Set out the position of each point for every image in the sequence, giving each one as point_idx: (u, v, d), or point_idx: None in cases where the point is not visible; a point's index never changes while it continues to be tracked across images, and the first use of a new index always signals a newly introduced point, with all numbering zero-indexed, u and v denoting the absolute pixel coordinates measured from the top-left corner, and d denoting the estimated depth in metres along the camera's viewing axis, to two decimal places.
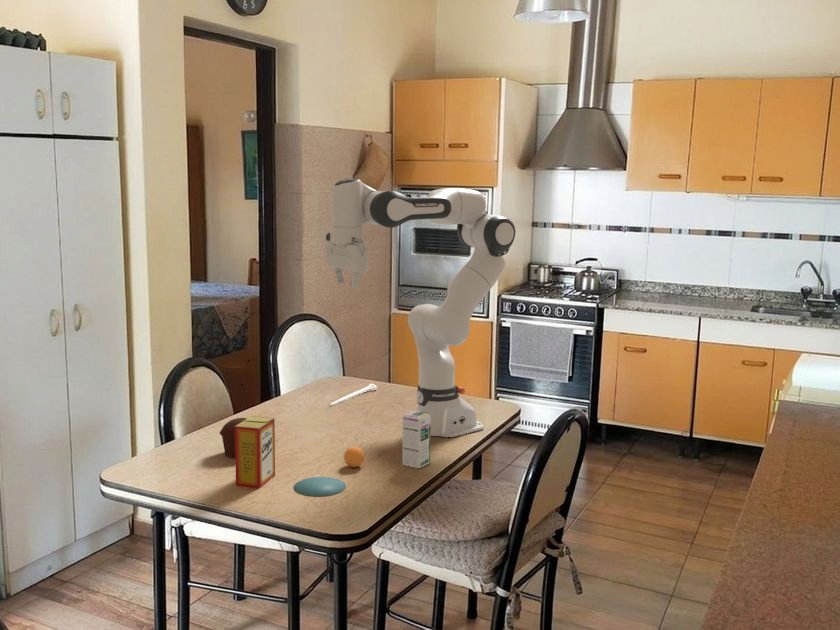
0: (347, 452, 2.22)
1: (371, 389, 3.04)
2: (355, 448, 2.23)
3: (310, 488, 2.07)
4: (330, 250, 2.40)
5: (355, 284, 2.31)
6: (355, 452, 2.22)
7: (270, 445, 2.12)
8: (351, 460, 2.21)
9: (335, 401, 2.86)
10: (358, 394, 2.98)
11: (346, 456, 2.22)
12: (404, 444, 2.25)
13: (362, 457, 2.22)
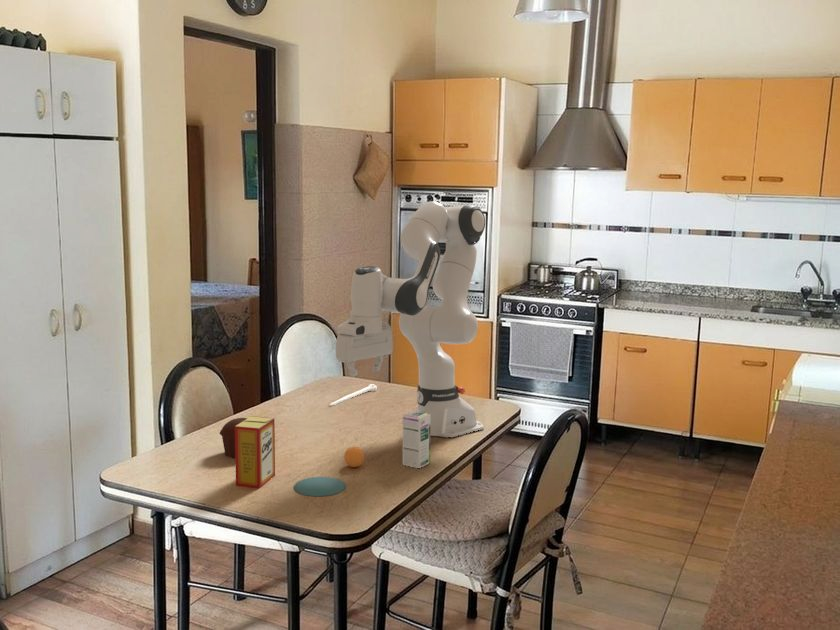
0: (347, 452, 2.22)
1: (371, 389, 3.03)
2: (355, 448, 2.23)
3: (310, 488, 2.07)
4: (352, 344, 2.23)
5: None
6: (355, 452, 2.22)
7: (270, 445, 2.12)
8: (351, 460, 2.21)
9: (335, 401, 2.85)
10: (358, 394, 2.97)
11: (346, 456, 2.22)
12: (404, 444, 2.25)
13: (362, 457, 2.22)
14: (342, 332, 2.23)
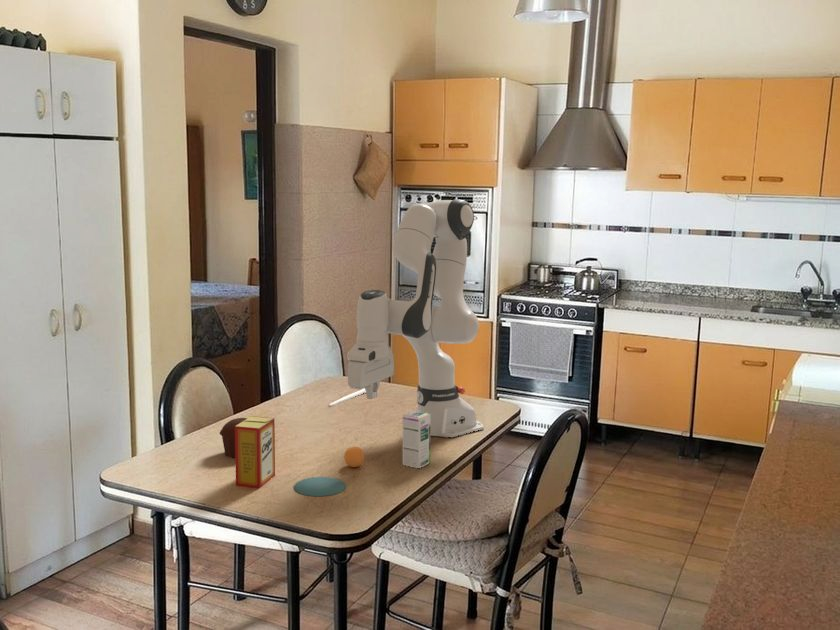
0: (347, 452, 2.22)
1: None
2: (355, 448, 2.23)
3: (310, 488, 2.07)
4: (364, 371, 2.21)
5: None
6: (355, 452, 2.22)
7: (270, 445, 2.12)
8: (351, 460, 2.21)
9: None
10: (358, 394, 2.97)
11: (346, 456, 2.22)
12: (404, 444, 2.25)
13: (362, 457, 2.22)
14: (354, 359, 2.20)
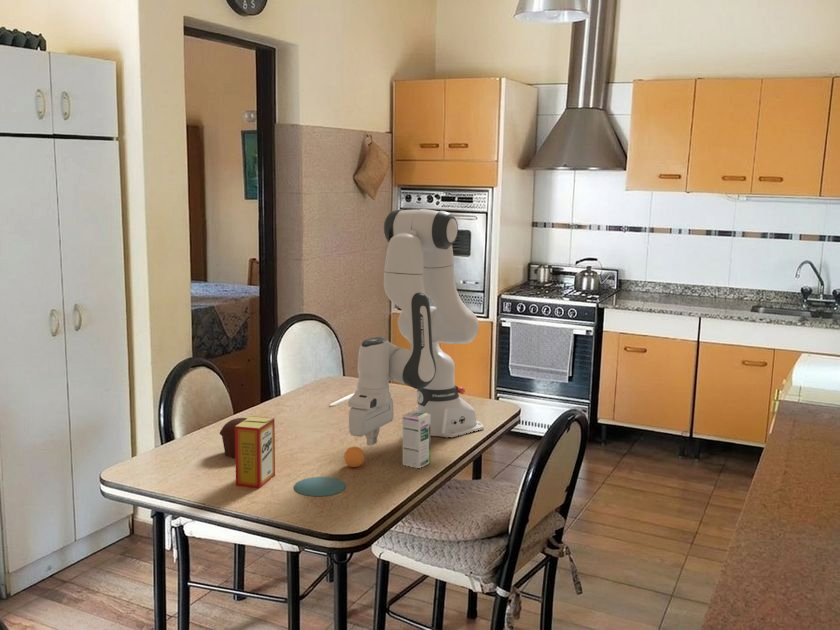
0: (347, 452, 2.22)
1: None
2: (355, 448, 2.23)
3: (310, 488, 2.07)
4: (365, 418, 2.22)
5: None
6: (355, 452, 2.22)
7: (270, 445, 2.12)
8: (351, 460, 2.21)
9: (335, 402, 2.85)
10: None
11: (346, 456, 2.22)
12: (404, 444, 2.25)
13: (362, 457, 2.22)
14: (355, 406, 2.22)
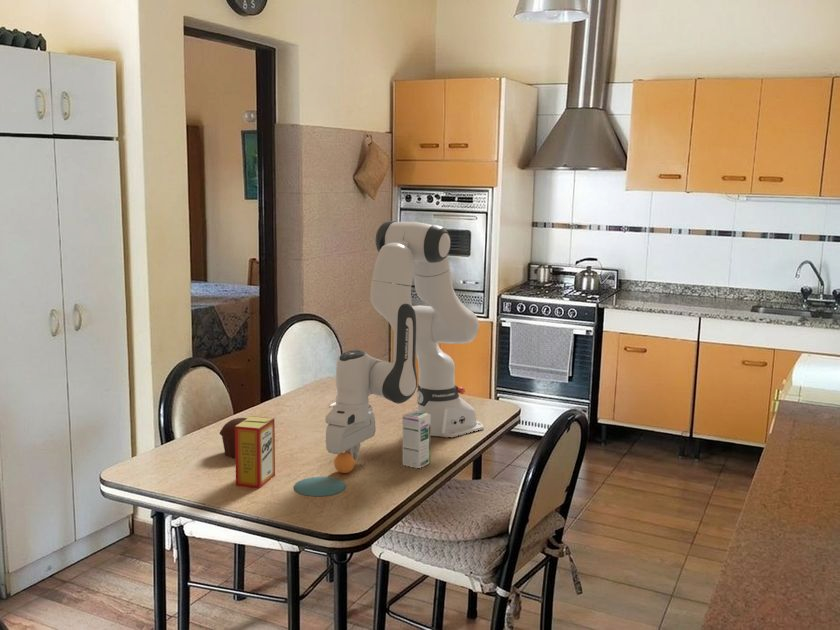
0: (337, 470, 2.18)
1: None
2: (341, 467, 2.17)
3: (310, 488, 2.07)
4: (343, 435, 2.14)
5: None
6: (345, 471, 2.17)
7: (270, 445, 2.12)
8: None
9: (335, 402, 2.85)
10: None
11: None
12: (404, 444, 2.25)
13: (352, 465, 2.18)
14: (332, 423, 2.14)
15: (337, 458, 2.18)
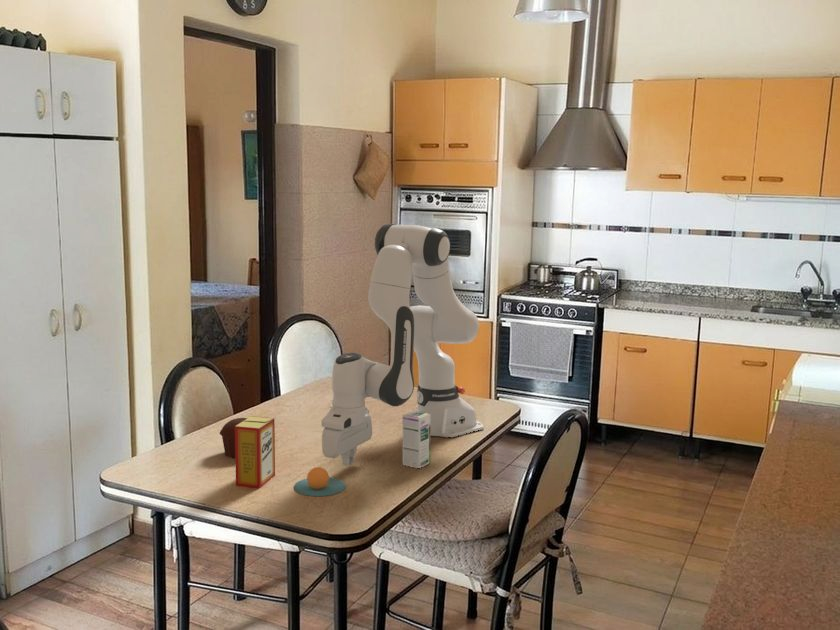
0: (310, 474, 2.06)
1: None
2: (318, 469, 2.06)
3: (310, 488, 2.07)
4: (339, 439, 2.12)
5: None
6: (319, 474, 2.05)
7: (270, 445, 2.12)
8: (314, 483, 2.05)
9: None
10: None
11: (309, 478, 2.06)
12: (404, 444, 2.25)
13: (326, 479, 2.06)
14: (328, 426, 2.12)
15: None
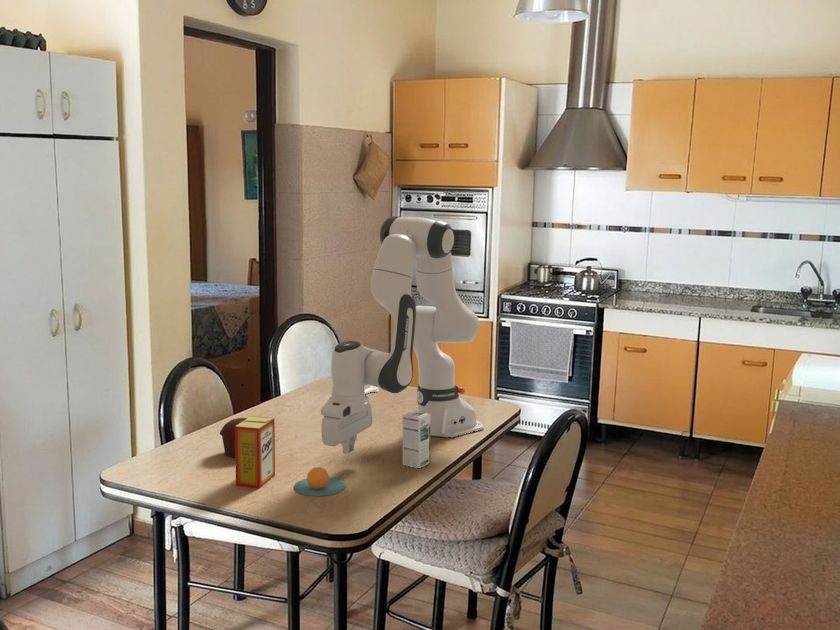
0: (310, 474, 2.06)
1: (373, 390, 3.02)
2: (318, 469, 2.06)
3: (310, 488, 2.07)
4: (338, 427, 2.12)
5: None
6: (319, 474, 2.05)
7: (270, 445, 2.12)
8: (314, 483, 2.05)
9: None
10: None
11: (309, 478, 2.06)
12: (404, 444, 2.25)
13: (326, 479, 2.06)
14: (328, 415, 2.12)
15: None
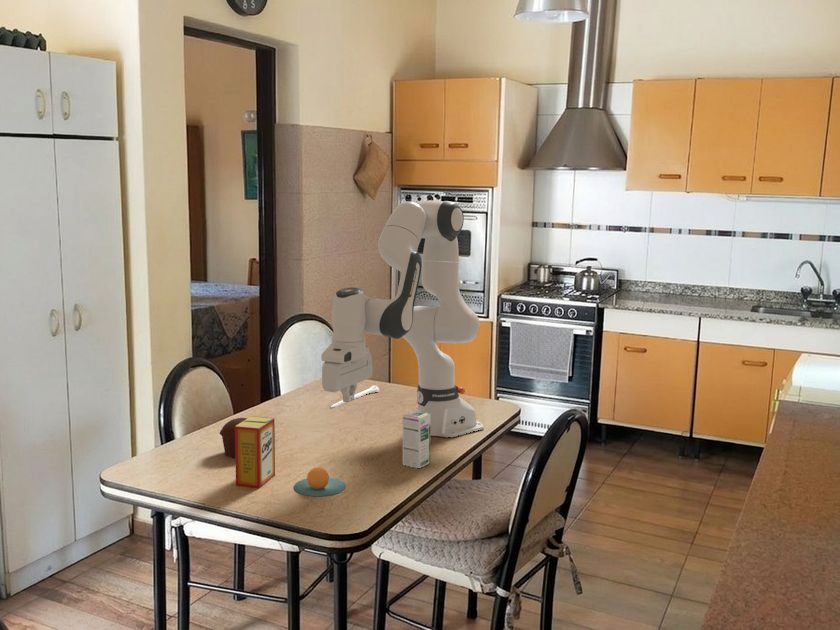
0: (310, 474, 2.06)
1: (373, 391, 3.01)
2: (318, 469, 2.06)
3: (310, 488, 2.07)
4: (339, 372, 2.09)
5: None
6: (319, 474, 2.05)
7: (270, 445, 2.12)
8: (314, 483, 2.05)
9: (336, 403, 2.83)
10: (360, 396, 2.95)
11: (309, 478, 2.06)
12: (404, 444, 2.25)
13: (326, 479, 2.06)
14: (328, 360, 2.09)
15: None
